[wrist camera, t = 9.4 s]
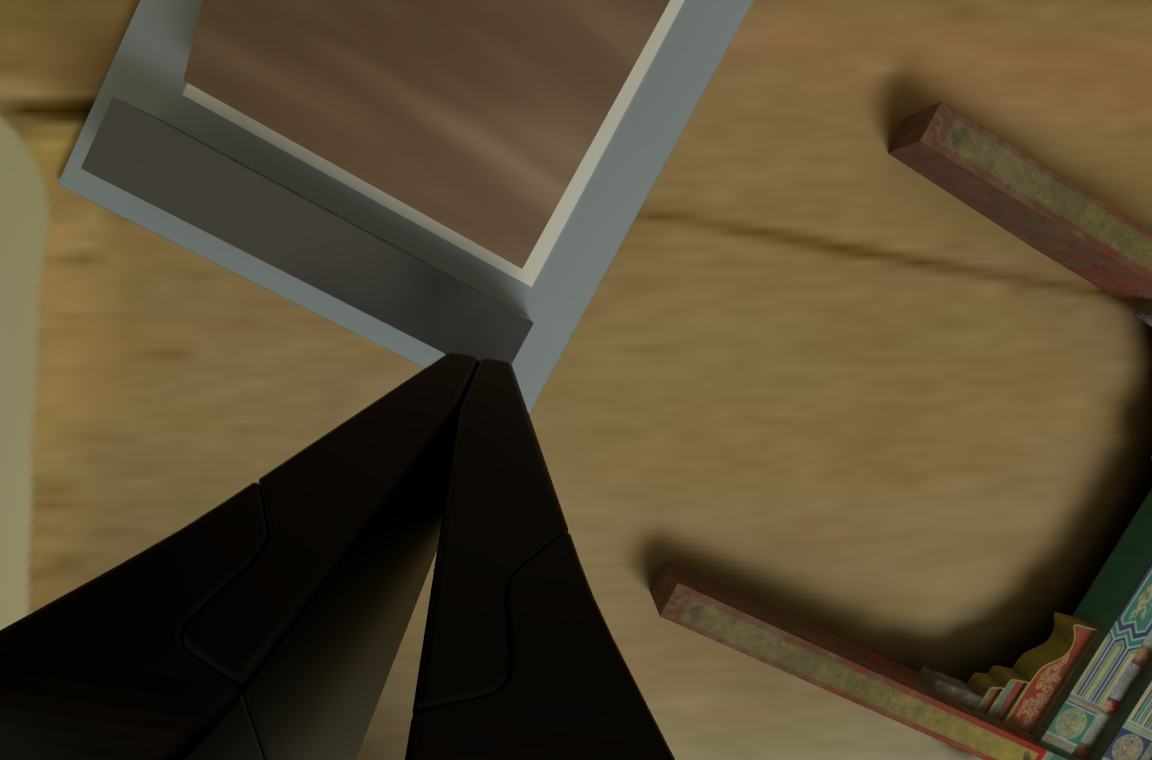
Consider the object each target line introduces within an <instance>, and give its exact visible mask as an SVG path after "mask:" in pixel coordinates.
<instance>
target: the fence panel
mask: <svg viewBox="0 0 1152 760" xmlns="http://www.w3.org/2000/svg"><path fill="white" fill-rule="evenodd" d="M669 2H670V0H203V3H202V7H201V11H200V15H199V19H198V23H197V27H196V31H195V35H194V39H193V43H192V47H191V51H190V55H189V59H188V63H187V67H186V71H185V75H184V79H183V81H185V82H187V83H189V84H190V85H192V86H194V87H196V88H198V89H199V90H201V91H203V92H205V93H207V94H208V95H210V96H212V97H214V98H216V99H217V100H219V101H221V102H223V103H225V104H226V105H228V106H230V107H232V108H234V109H235V110H237V111H239V112H241V113H243V114H244V115H246V116H248V117H250V118H252V119H253V120H255V121H257V122H259V123H261V124H262V125H264V126H266V127H268V128H270V129H271V130H273V131H275V132H277V133H279V134H280V135H282V136H284V137H286V138H288V139H289V140H291V141H293V142H295V143H297V144H298V145H300V146H302V147H304V148H305V149H307V150H309V151H311V152H313V153H314V154H316V155H318V156H320V157H322V158H323V159H325V160H327V161H329V162H331V163H332V164H334V165H336V166H338V167H340V168H341V169H343V170H345V171H347V172H349V173H350V174H352V175H354V176H356V177H358V178H359V179H361V180H363V181H365V182H367V183H368V184H370V185H372V186H374V187H376V188H377V189H379V190H381V191H383V192H385V193H386V194H388V195H390V196H392V197H394V198H395V199H397V200H399V201H401V202H403V203H404V204H406V205H408V206H410V207H411V208H413V209H415V210H417V211H419V212H420V213H422V214H424V215H426V216H428V217H429V218H431V219H433V220H435V221H437V222H438V223H440V224H442V225H444V226H446V227H447V228H449V229H451V230H453V231H455V232H456V233H458V234H460V235H462V236H464V237H465V238H467V239H469V240H471V241H473V242H474V243H476V244H478V245H480V246H482V247H483V248H485V249H487V250H489V251H491V252H492V253H494V254H496V255H498V256H500V257H501V258H503V259H505V260H507V261H509V262H510V263H512V264H514V265H516V266H518V267H519V268H521V269H523V267H524V265H525V263H526V261H527V260H528V258H529V256H530V254H531V252H532V251H533V249H534V247H535V245H536V243H537V242H538V240H539V238H540V236H541V234H542V232H543V231H544V229H545V227H546V225H547V223H548V222H549V220H550V218H551V216H552V214H553V212H554V211H555V209H556V207H557V205H558V203H559V202H560V200H561V198H562V196H563V194H564V192H565V191H566V189H567V187H568V185H569V183H570V182H571V180H572V178H573V176H574V174H575V172H576V171H577V169H578V167H579V165H580V163H581V162H582V160H583V158H584V156H585V154H586V152H587V151H588V149H589V147H590V145H591V143H592V142H593V140H594V138H595V136H596V134H597V133H598V131H599V129H600V127H601V125H602V123H603V122H604V120H605V118H606V116H607V114H608V113H609V111H610V109H611V107H612V105H613V103H614V102H615V100H616V98H617V96H618V94H619V93H620V91H621V89H622V87H623V85H624V83H625V82H626V80H627V78H628V76H629V74H630V73H631V71H632V69H633V67H634V65H635V63H636V62H637V60H638V58H639V56H640V54H641V53H642V51H643V49H644V47H645V45H646V43H647V42H648V40H649V38H650V36H651V34H652V33H653V31H654V29H655V27H656V25H657V24H658V22H659V20H660V18H661V16H662V14H663V13H664V11H665V9H666V7H667V5H668V4H669Z"/></svg>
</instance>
